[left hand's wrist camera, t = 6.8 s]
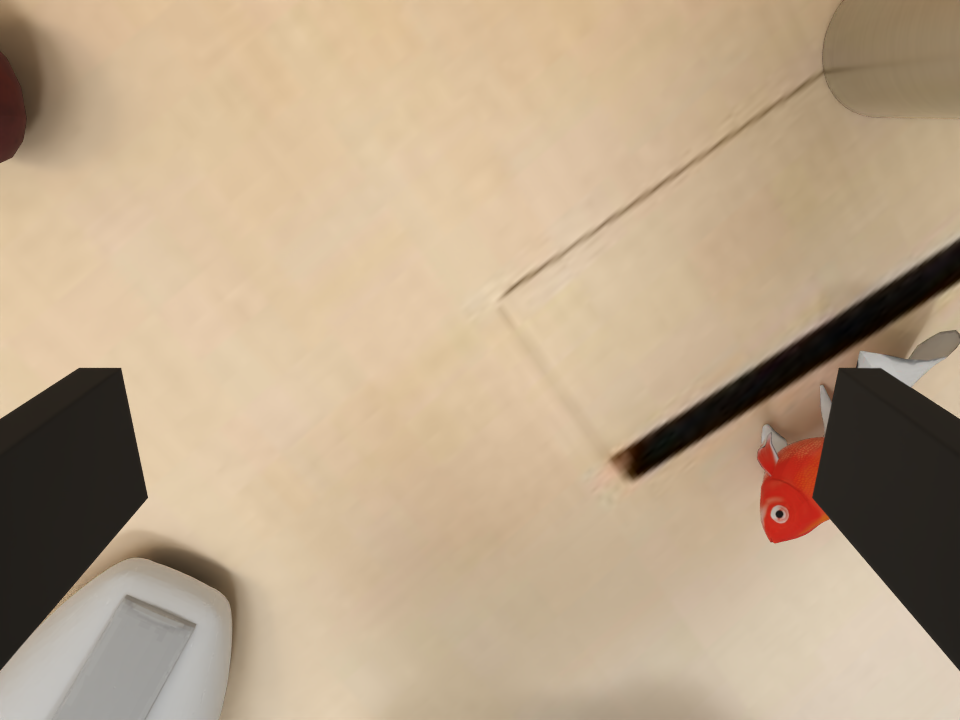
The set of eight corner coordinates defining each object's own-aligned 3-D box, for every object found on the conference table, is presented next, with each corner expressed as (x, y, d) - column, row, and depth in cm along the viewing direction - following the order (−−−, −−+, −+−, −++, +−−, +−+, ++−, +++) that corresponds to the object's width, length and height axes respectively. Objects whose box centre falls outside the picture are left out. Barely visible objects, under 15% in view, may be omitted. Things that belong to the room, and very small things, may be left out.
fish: (682, 415, 38) (848, 512, 30) (855, 259, 41) (1043, 311, 34) (712, 519, 44) (855, 620, 37) (860, 377, 48) (1018, 442, 40)
